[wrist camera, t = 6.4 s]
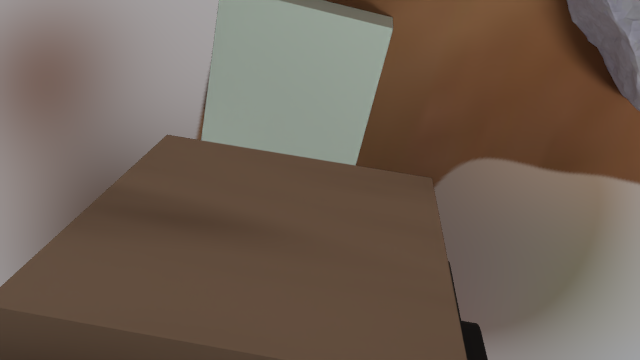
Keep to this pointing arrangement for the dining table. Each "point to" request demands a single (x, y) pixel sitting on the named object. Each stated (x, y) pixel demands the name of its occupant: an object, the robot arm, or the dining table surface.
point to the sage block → (294, 76)
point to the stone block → (614, 39)
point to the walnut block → (240, 265)
